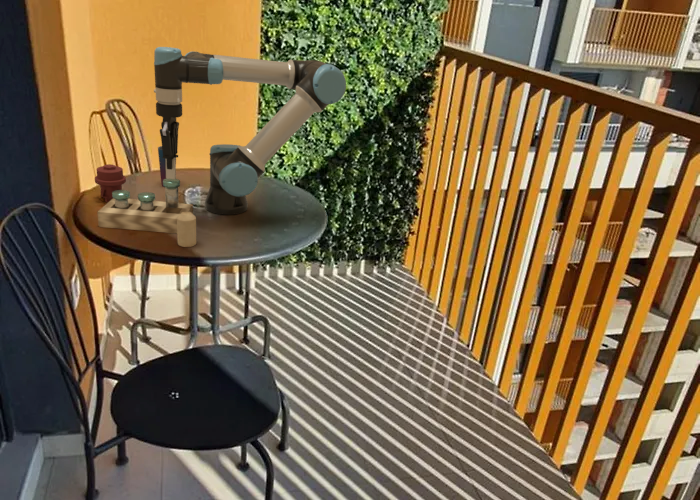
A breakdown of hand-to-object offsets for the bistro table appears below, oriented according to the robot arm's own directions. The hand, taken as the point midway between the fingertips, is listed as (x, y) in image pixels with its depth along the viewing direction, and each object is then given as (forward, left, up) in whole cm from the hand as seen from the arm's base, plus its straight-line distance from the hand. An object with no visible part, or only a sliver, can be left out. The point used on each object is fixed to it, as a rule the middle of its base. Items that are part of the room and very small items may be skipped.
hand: (171, 178), depth 171 cm
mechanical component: (+26, -18, -16) cm, 35 cm away
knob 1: (+16, 0, -15) cm, 22 cm away
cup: (+12, -39, -16) cm, 44 cm away
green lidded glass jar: (+8, 0, -15) cm, 17 cm away
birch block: (+8, 0, -16) cm, 18 cm away
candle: (-8, +14, -16) cm, 23 cm away
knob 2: (0, 0, -9) cm, 9 cm away
